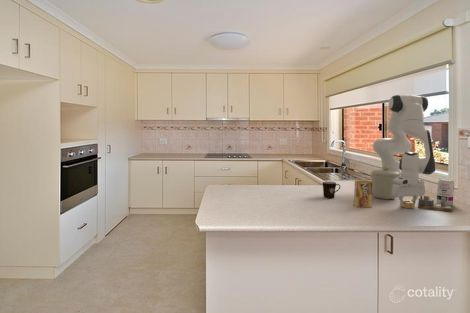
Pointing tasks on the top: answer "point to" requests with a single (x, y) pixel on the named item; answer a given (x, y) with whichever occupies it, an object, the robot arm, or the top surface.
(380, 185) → the canister
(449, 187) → the supplement can
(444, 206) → the gear board
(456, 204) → the top surface
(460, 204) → the top surface
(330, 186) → the coffee mug
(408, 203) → the brass gear
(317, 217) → the top surface
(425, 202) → the gear
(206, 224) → the top surface
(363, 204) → the candy box
